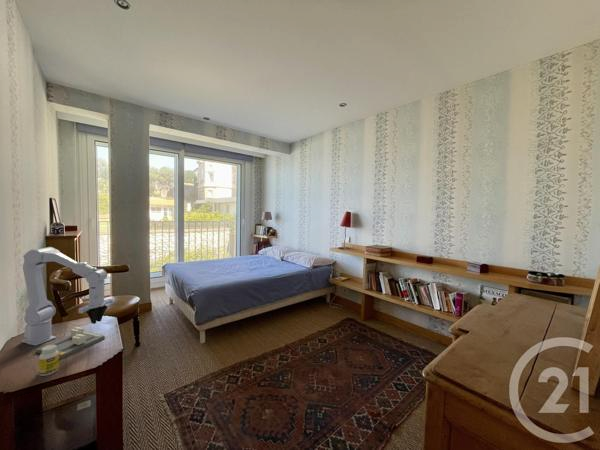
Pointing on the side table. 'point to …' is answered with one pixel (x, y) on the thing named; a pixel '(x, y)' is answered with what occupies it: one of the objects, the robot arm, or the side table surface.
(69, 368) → the side table surface
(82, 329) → the cream slider knob
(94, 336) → the panel
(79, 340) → the block
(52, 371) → the supplement bottle
